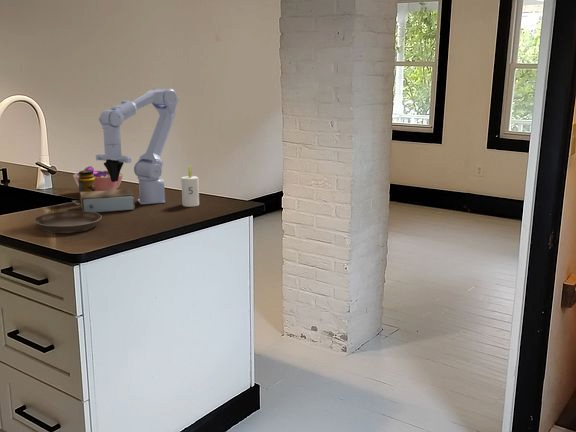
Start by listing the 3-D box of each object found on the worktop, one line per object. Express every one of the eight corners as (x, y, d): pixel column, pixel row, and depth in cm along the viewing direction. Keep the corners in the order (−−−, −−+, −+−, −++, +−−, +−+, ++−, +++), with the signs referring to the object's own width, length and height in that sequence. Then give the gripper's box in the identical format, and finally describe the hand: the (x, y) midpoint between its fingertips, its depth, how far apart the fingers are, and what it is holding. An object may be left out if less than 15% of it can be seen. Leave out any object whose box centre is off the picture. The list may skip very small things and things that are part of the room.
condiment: (99, 202, 233) (97, 171, 230) (77, 205, 229) (74, 173, 226) (94, 199, 239) (92, 169, 236) (72, 201, 235) (69, 170, 232)
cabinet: (130, 203, 232) (130, 188, 231) (134, 209, 222) (133, 194, 221) (81, 206, 226) (80, 192, 225) (82, 213, 216) (81, 198, 215)
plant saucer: (101, 217, 212) (100, 208, 211) (103, 232, 193) (102, 222, 192) (37, 222, 205) (36, 212, 204) (33, 238, 186) (32, 227, 185)
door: (134, 208, 222) (133, 196, 221) (135, 209, 220) (134, 197, 219) (84, 212, 216) (83, 199, 215) (84, 213, 214) (83, 200, 213)
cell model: (113, 199, 239) (111, 171, 236) (66, 197, 242) (63, 169, 240) (131, 190, 255) (129, 164, 252) (86, 188, 258) (84, 162, 256)
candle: (182, 207, 227) (181, 167, 223) (182, 203, 233) (180, 164, 229) (199, 206, 228) (198, 166, 224) (198, 202, 234) (197, 164, 231)
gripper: (88, 143, 217) (91, 181, 220) (121, 146, 211) (123, 184, 214) (102, 141, 223) (104, 178, 226) (134, 144, 217) (136, 181, 220)
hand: (114, 181), depth 220 cm, fingers closed
